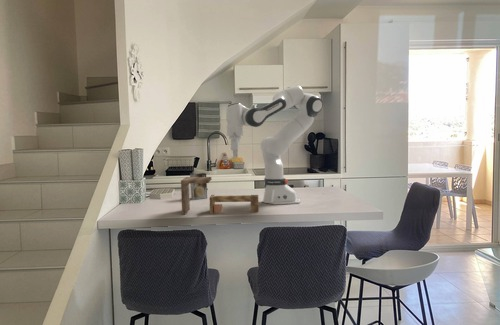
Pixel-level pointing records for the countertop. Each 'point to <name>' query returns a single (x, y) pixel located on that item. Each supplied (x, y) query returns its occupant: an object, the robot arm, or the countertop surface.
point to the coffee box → (198, 187)
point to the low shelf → (185, 190)
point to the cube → (217, 208)
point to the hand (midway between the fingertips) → (235, 157)
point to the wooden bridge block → (239, 198)
